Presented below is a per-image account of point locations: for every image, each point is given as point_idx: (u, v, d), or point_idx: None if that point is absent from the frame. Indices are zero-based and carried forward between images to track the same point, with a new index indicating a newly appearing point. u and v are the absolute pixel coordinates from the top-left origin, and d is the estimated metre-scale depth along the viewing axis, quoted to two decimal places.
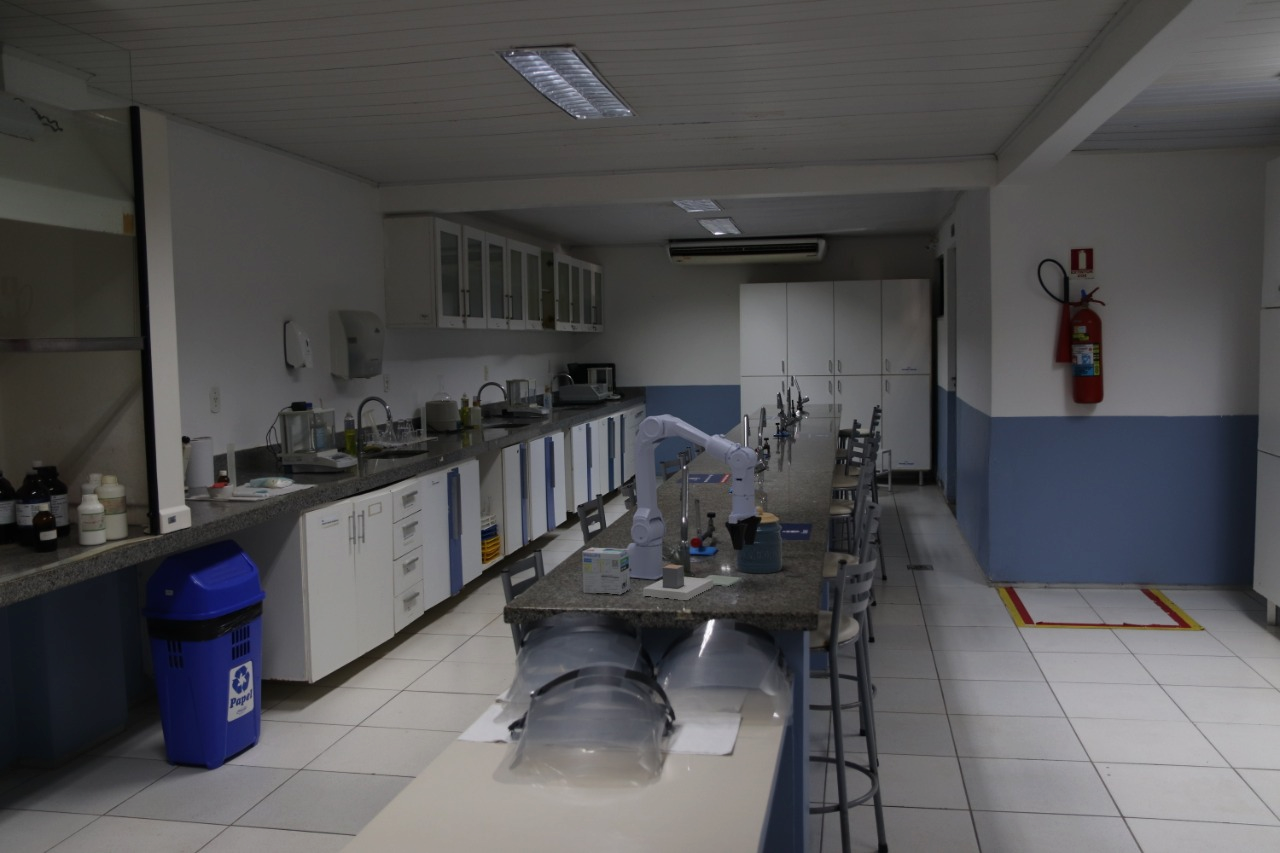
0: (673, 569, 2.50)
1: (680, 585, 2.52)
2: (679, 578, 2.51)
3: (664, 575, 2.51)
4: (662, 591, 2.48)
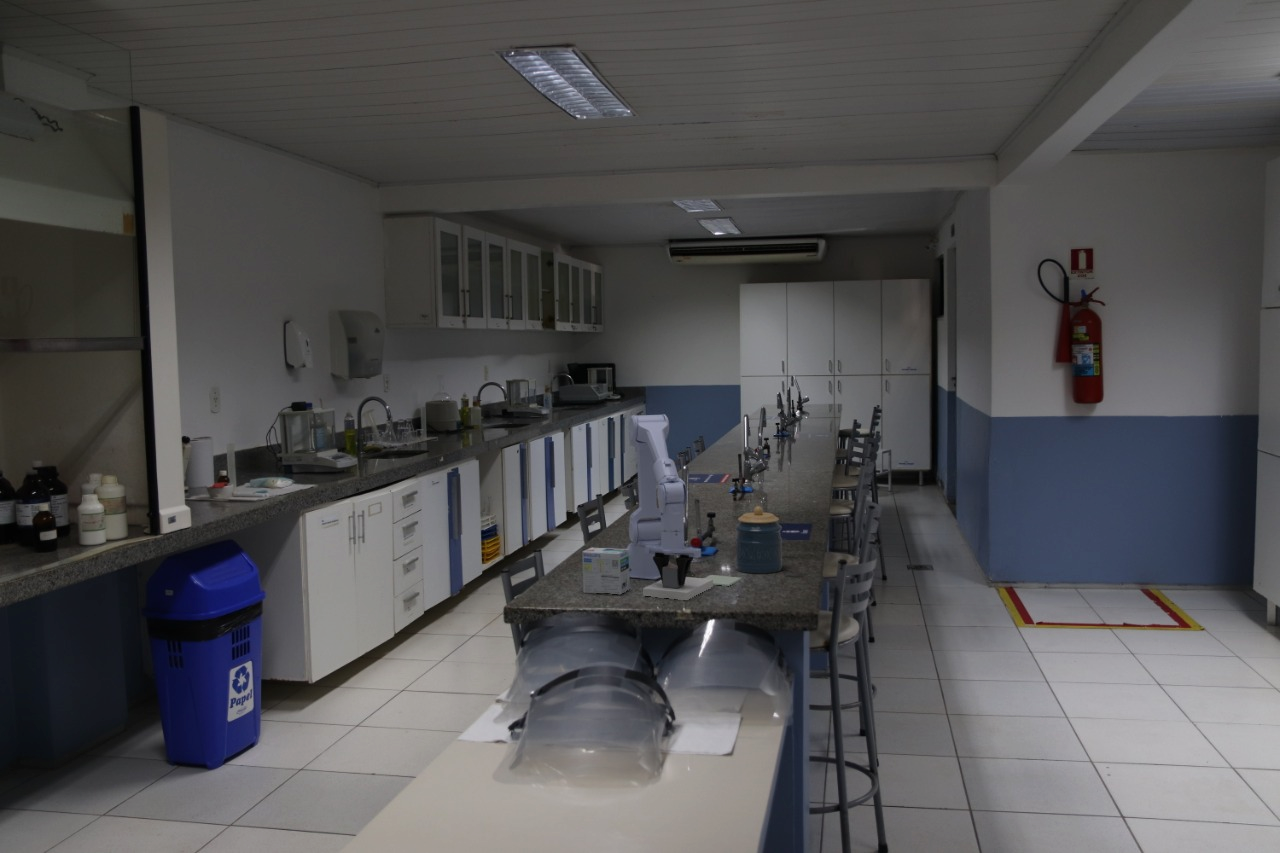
0: (673, 569, 2.50)
1: None
2: None
3: (664, 575, 2.51)
4: (662, 591, 2.48)
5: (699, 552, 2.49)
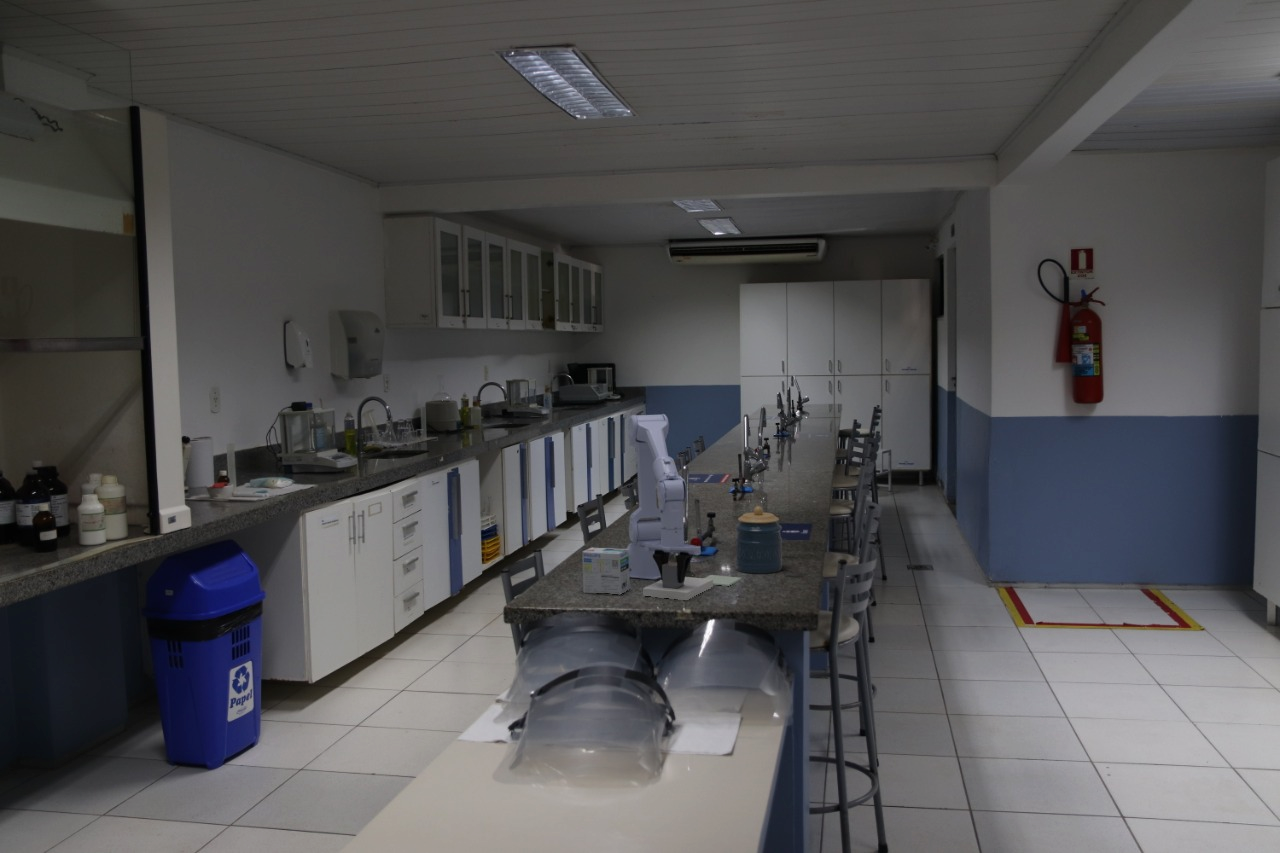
0: (673, 566, 2.50)
1: None
2: None
3: (664, 573, 2.51)
4: (662, 591, 2.48)
5: (699, 549, 2.48)
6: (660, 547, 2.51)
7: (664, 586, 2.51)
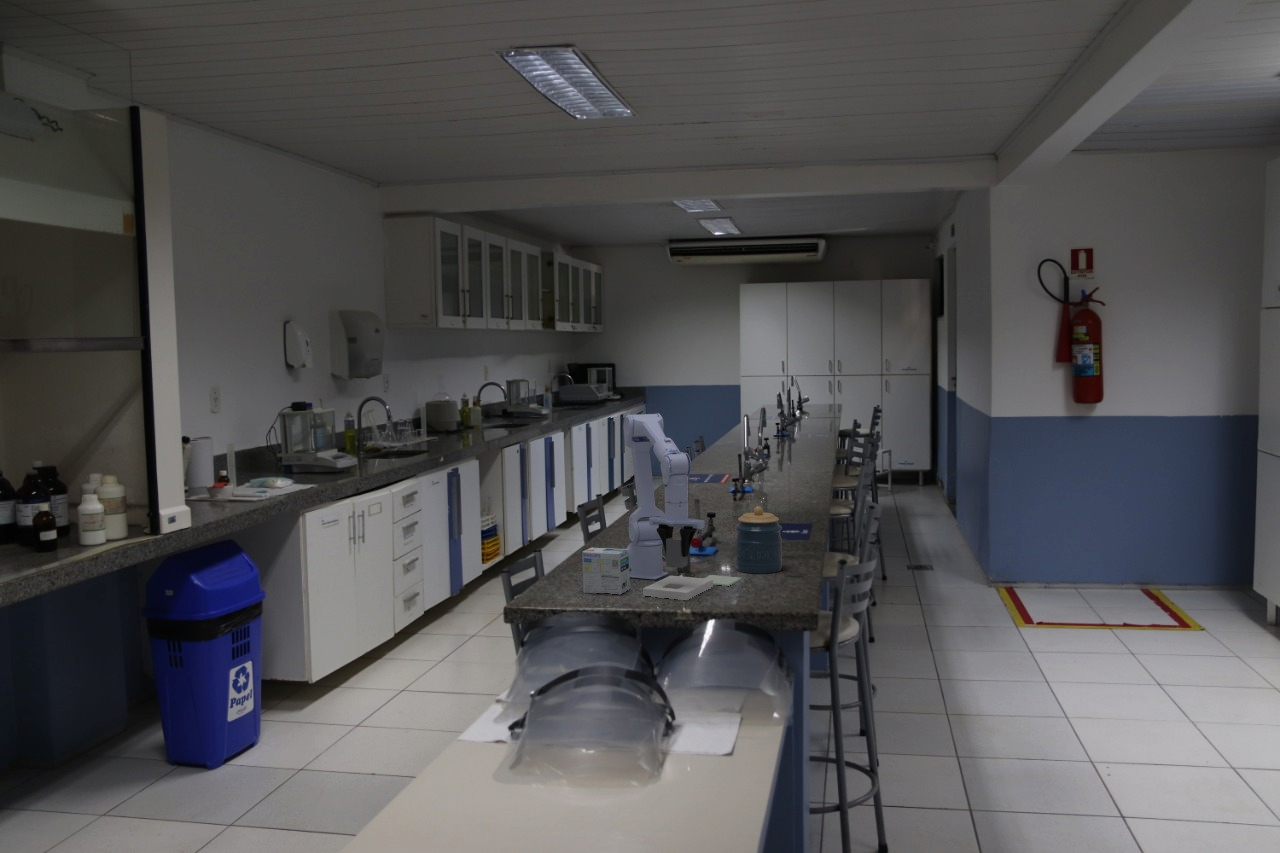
0: (677, 540, 2.51)
1: None
2: None
3: (668, 547, 2.52)
4: (662, 591, 2.48)
5: (703, 523, 2.49)
6: (664, 521, 2.51)
7: (668, 560, 2.52)
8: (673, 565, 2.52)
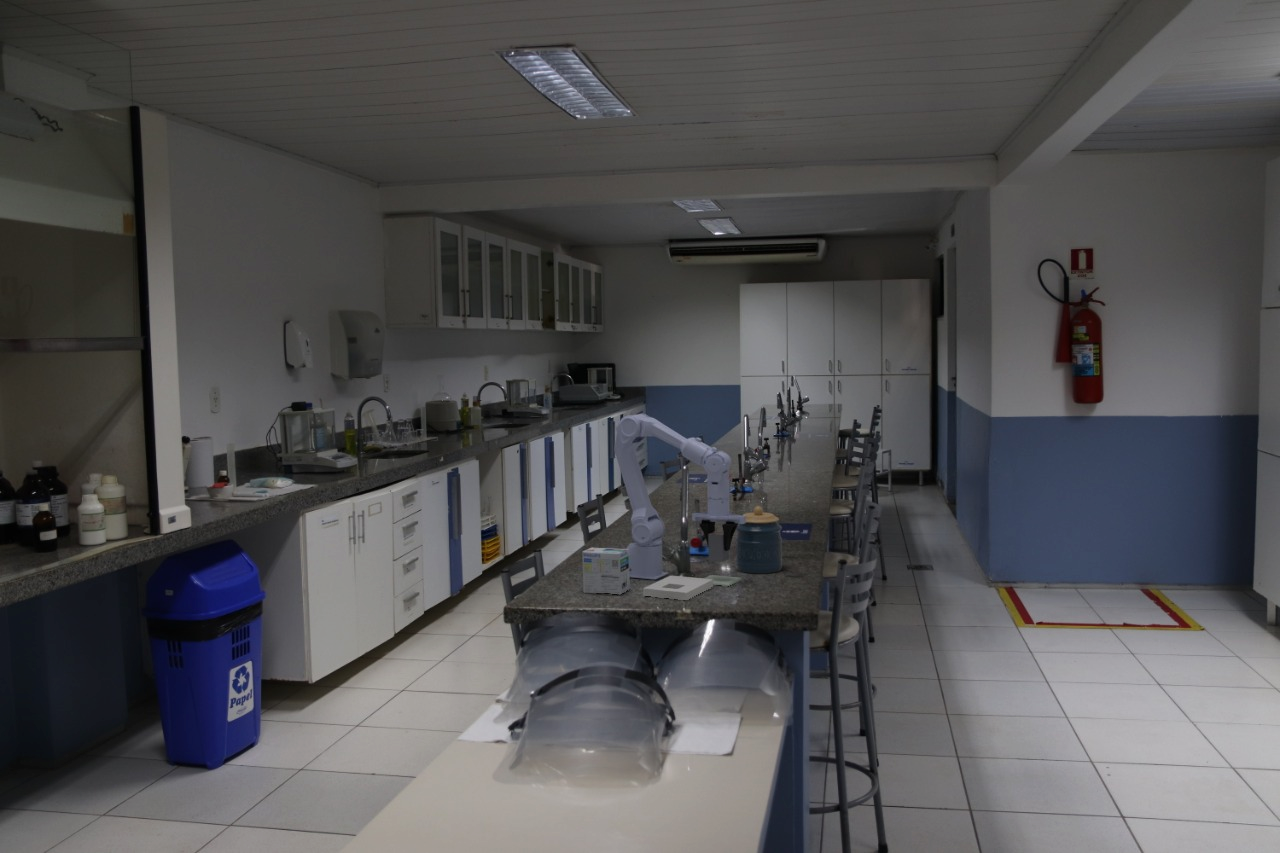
0: (719, 535, 2.62)
1: (725, 551, 2.64)
2: None
3: (710, 541, 2.64)
4: (662, 591, 2.48)
5: (744, 519, 2.61)
6: (707, 517, 2.63)
7: (710, 554, 2.64)
8: (715, 559, 2.63)
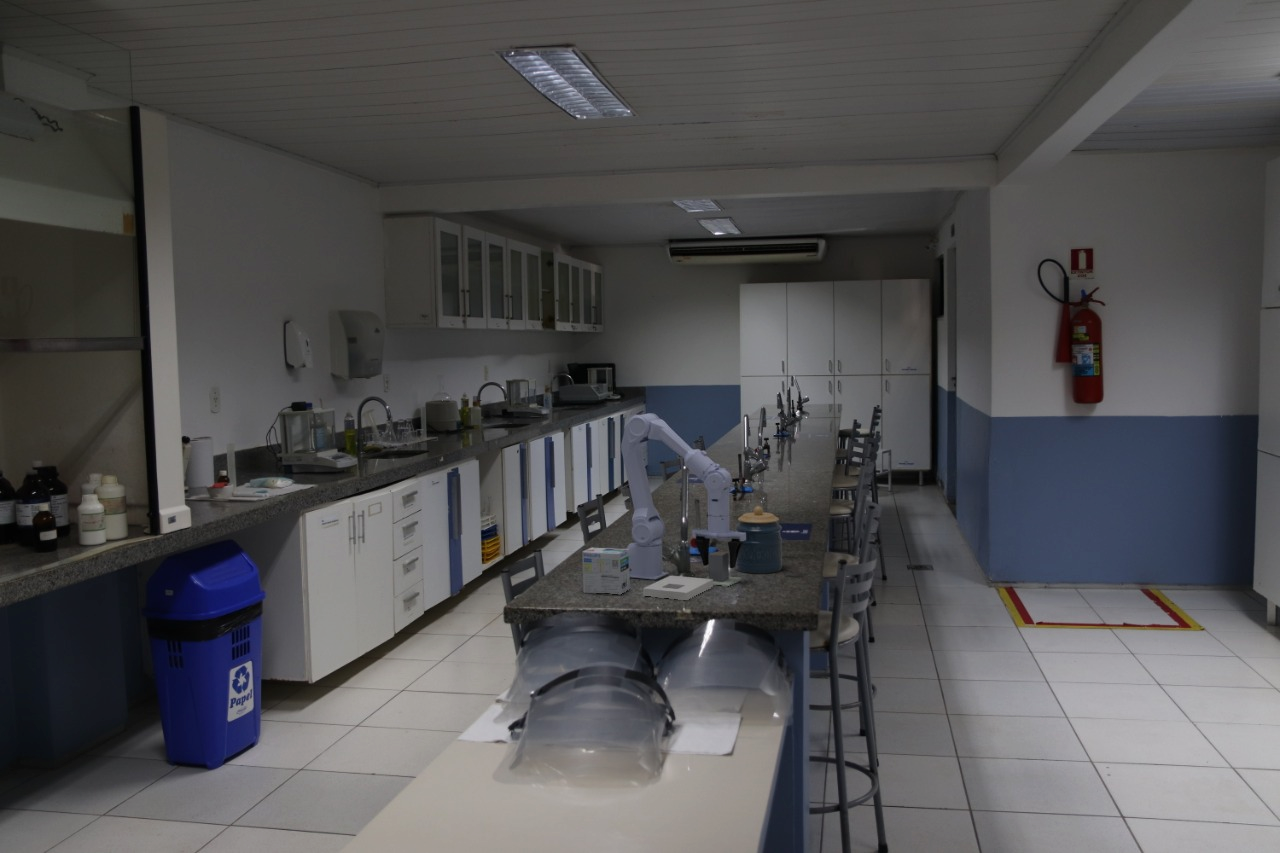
0: (719, 556, 2.63)
1: (725, 571, 2.64)
2: (724, 564, 2.64)
3: (710, 562, 2.64)
4: (662, 591, 2.48)
5: (744, 536, 2.62)
6: (707, 533, 2.64)
7: (710, 574, 2.64)
8: (715, 579, 2.64)
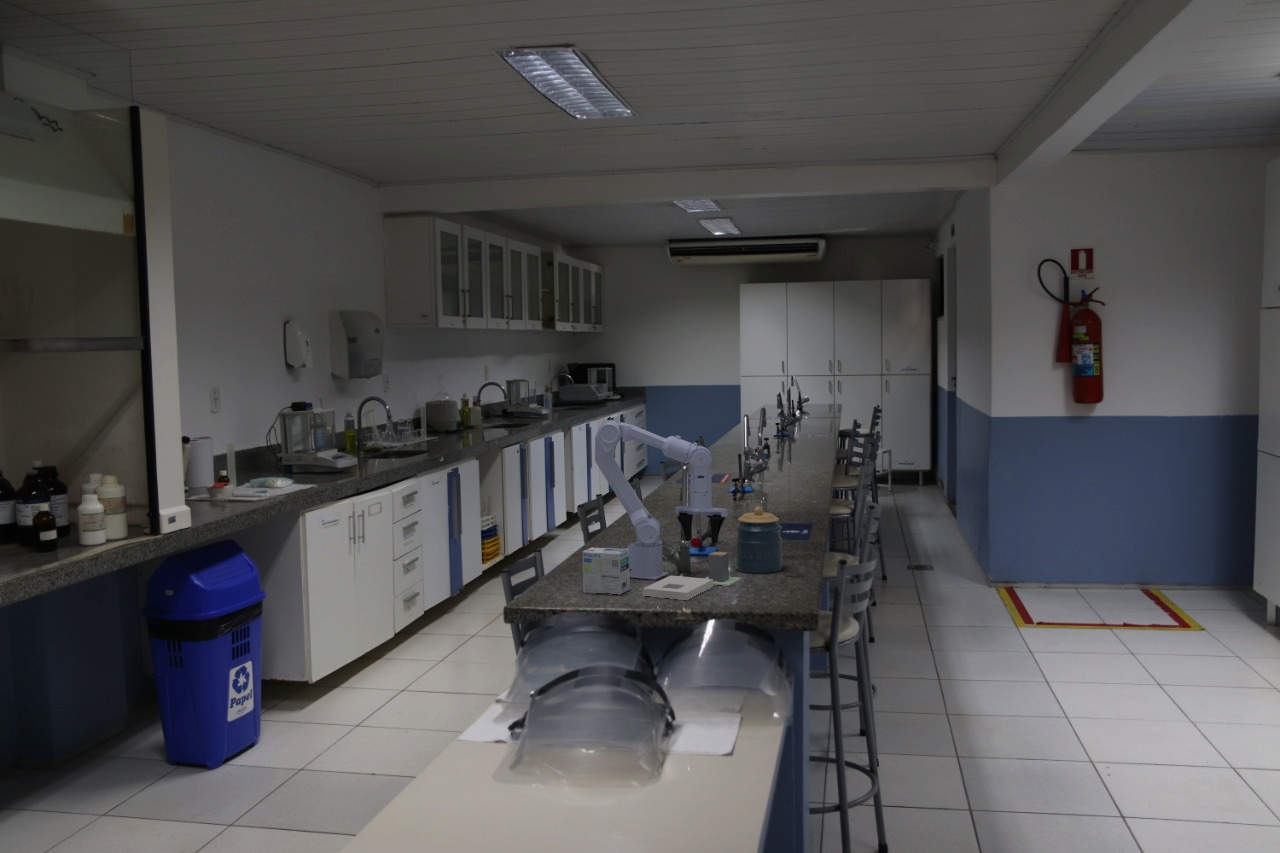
0: (719, 556, 2.63)
1: (725, 571, 2.64)
2: (724, 564, 2.64)
3: (710, 562, 2.64)
4: (662, 591, 2.48)
5: (726, 511, 2.69)
6: (690, 509, 2.71)
7: (710, 574, 2.64)
8: (715, 579, 2.64)
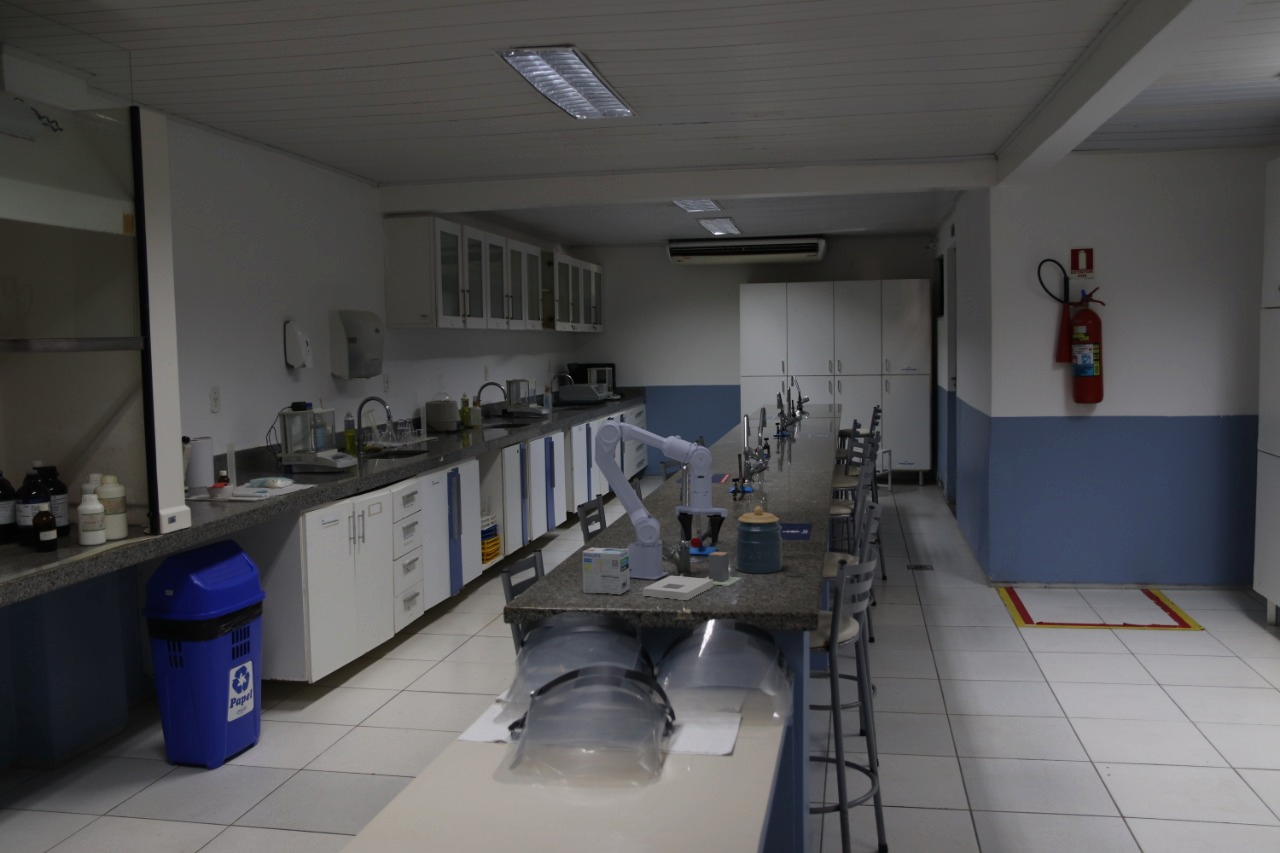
0: (719, 556, 2.63)
1: (725, 571, 2.64)
2: (724, 564, 2.64)
3: (710, 562, 2.64)
4: (662, 591, 2.48)
5: (726, 511, 2.69)
6: (690, 509, 2.71)
7: (710, 574, 2.64)
8: (715, 579, 2.64)
